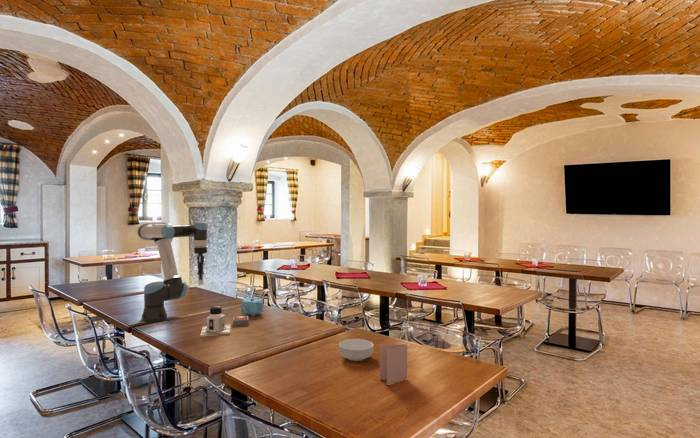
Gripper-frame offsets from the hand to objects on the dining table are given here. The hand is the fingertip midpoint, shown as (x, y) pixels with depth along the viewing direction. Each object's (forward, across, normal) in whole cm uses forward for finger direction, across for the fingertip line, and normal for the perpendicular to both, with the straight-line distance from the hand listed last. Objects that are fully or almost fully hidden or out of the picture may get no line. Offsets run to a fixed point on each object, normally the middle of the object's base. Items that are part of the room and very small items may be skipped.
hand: (200, 284), depth 263 cm
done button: (+23, -6, -24) cm, 34 cm away
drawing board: (+24, -19, -10) cm, 32 cm away
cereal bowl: (+24, -81, -78) cm, 115 cm away
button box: (+24, -6, -24) cm, 35 cm away
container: (+23, -19, -10) cm, 32 cm away
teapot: (+25, +15, -32) cm, 43 cm away
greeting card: (+24, -112, -86) cm, 143 cm away
